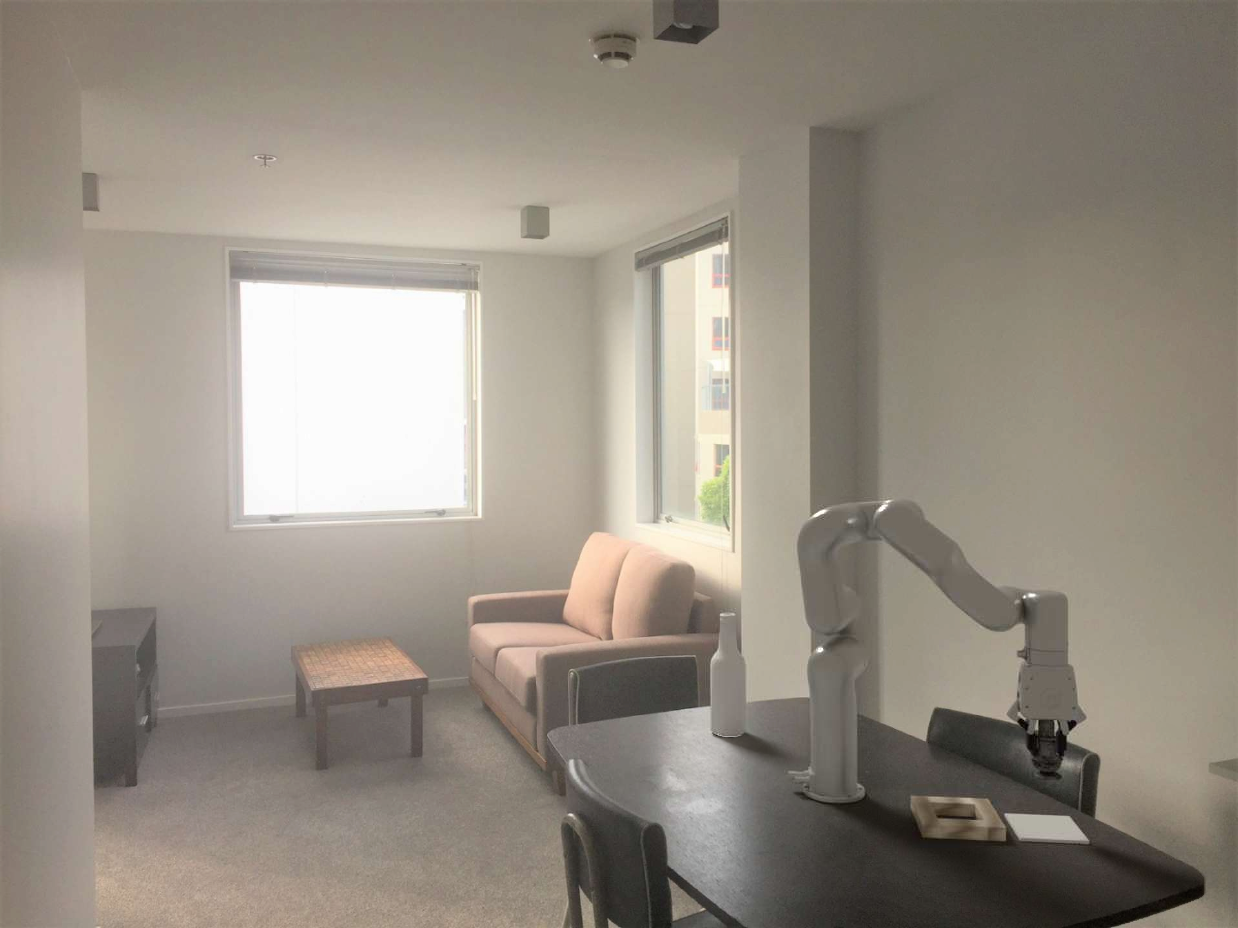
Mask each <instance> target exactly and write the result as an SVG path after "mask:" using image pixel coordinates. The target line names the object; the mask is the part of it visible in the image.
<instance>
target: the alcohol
mask: <svg viewBox="0 0 1238 928" xmlns="http://www.w3.org/2000/svg"><path fill="white" fill-rule="evenodd" d="M719 617H720V618H719V621H720V622H719V623H720V624H719V633H718V634H719V637H718V647H717V651H715V653H714V654H713V656H712V657H711V659H710V664H709V665H710V667H709V668H710V669H709V674H710V677H709V678H710V680H709V681H710V682H709V684H710V690H709V691H710V731H711V732H713V733H715V734H719V735H722V736H738V735H742V734H745V733H746V731H747V666H746V665H747V664H746V661H745V658H744V656H743V654H742V653H741V652H740V651H739V648H738V638H737V625H736V624H737V623H736V621H737V620H736V617H737V615H736V614H735V613H734V612H722V613H720V614H719ZM713 733H712V734H713ZM742 736H743V735H742Z"/></svg>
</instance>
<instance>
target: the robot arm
mask: <svg viewBox="0 0 1238 928" xmlns="http://www.w3.org/2000/svg"><path fill="white" fill-rule="evenodd" d="M880 541H881V542H882V541H883V542H885V543H886V544H887V545H888V546H890V547H891V548H892V549H893V550H895V551H896V552H898V553H899V554H900V555H901V556H902V557H904V559H906V560H907V561H908V562H910V563H911V564H912V565H913V566H915V567H916V568H917V569H919V570H920V571H922V573H924V574H925V575H926V576H927V577H928V578H929V579H930V580H931V581H932V583H933V584H934V585H935V586H936V587H937V588H938V589H939V590H940V591H941V592H942V593H943V594H944V596H946V598H948V600H949V601H951V603H952V604H954V606H956V607H957V608H959V610H960V611H962V612H963V613H964V614H966V615H967V616H968V617H970V618H971V619H972V620H973V621H974V622H976V623H977V624H979V625H980V626H981V627H983V628H985V629H986V630H989V631H990V632H995V633H1005V632H1007V631H1010V630H1011V629H1014V628H1015V627H1016V626H1017V625H1024V646H1023V648H1022V649H1021V650H1017V651H1016V658H1019V659H1020V658H1021V659H1023V661H1022V662H1021V663H1020V667H1019V672H1018V678H1017V679H1018V680H1017V685H1016V686H1017V688H1016V699H1015V701H1014V703H1012V705H1011V706H1010V708H1009V709H1008V711H1007V712H1006V716H1007V717H1008V718H1009V719H1011V720H1012V721H1013V722H1015V723H1017V724H1018V725H1019V726H1020V727H1021V728H1022V729H1023V730H1024V731H1025V747H1026V750H1027V751H1028V752H1029V753H1030V754H1032V755H1033V756H1036V755H1037V747H1038V738H1037V734H1036V731H1035V729H1036V726H1037V725H1036V724H1037V722H1038V720H1054V721H1056V725H1057V730H1055V736H1056V737H1057V739H1056V740H1055V750H1056V754H1057V755H1059V756H1061V757H1063V758H1064V757H1065V752H1066V751H1067V750H1068V747H1067V746H1068V740H1067V739H1068V735H1070V732H1071V731H1072V730H1074V728H1076V726H1077V725H1079V724H1081V723H1083V722H1084V721H1086V719H1087V714H1085V712H1084V711H1083V709H1082V708H1081V706H1080V705H1079V700H1078V690H1077V689H1078V688H1077V681H1076V680H1077V679H1076V676H1075V675H1076V673H1075V669H1074V666H1073V665H1071V664H1070V663H1069V600H1068V596H1067V595H1066V594H1065V593H1064V592H1061V591H1058V590H1057V591H1056V590H1049V589H1039V590H1037V589H1036V590H1031V589H1025V588H1020V587H1015V586H1010V585H1009V586H1008V585H1001V586H997V587H996V586H994V585H993V584H992V583H991V582H989V581H988V580H987V579H986V578H984V577H983V576H982V575H981V574H980V573H979V572H978V571H976V570H975V569H974V567H973V566H972V565H970V563H969V561H968V560H967V559H966V557H965V555H964V552H963V550H962V548H961V547H960V545H958V543H957V542H956V541H954V539H952V538H951V537H950V536H948V535H947V534H945V533H944V532H943V531H941V529H939V528H938V527H936V526H935V525H934V524H933V523H931V522H930V521H928V520H927V519H926V518H925V513H924V512H923V509H922V508H921V507H920V506H919V505H918V504H917V503H916V502H914V501H913V500H911V499H907V498H896V499H888V500H887V499H886V500H877V501H875V500H874V501H861V502H859V501H858V502H857V501H856V502H846V503H841V504H835V505H830V506H828V507H825V508H823V509H821V510H819V511H817V512H816V513H814V514H813V515H812V516H811V517H809V518H808V519H807V520H806V521H805V522H804V523H803V525H802V527H801V528H800V530H799V533H798V537H797V542H796V553H797V559H798V560H797V561H798V565H799V567H798V568H799V576H800V585H801V591H802V593H801V594H802V599H803V606H804V607H803V608H804V615H805V617H804V618H805V620H806V624H807V625H808V627H809V629H810V630H811V631H812V632H813V633H814V634H816V635H819V636H822V638H823V640H822V641H823V643H822V644H820V645H818V646H817V647H816V648H815V649H814V650H812V653H811V654H810V656H809V659H808V660H807V666H806V674H807V675H806V676H807V683H808V690H809V703H810V705H809V707H810V708H809V710H810V711H809V713H810V714H809V718H810V719H809V720H810V722H809V723H810V725H809V726H810V730H809V731H810V734H809V735H810V737H809V738H810V766H808V768H807V769H808V770H803V771H795V770H788V781H794V784H798V785H799V784H803V785H802V792H803V793H804V795H805V796H807V797H808V798H811V799H813V800H815V801H819V802H823V803H829V804H830V803H831V804H848V803H849V804H851V803H855V802H858V801H861V800H862V799H864V798H865V795H866V790H865V788H864V786H863V785H862V784H860V783H858V704H857V703H858V702H857V695H856V689H855V688H856V687H855V680H856V679H857V678H858V677H859V676H861V675H862V674H863V673H864V672H865V670H866V669H867V667H868V663H869V654H870V653H869V645H868V638H867V632H866V623H865V617H864V611H863V606H862V603H861V600H860V599H859V596H858V595H857V594H856V592H855V591H854V590H853V589H852V588H850V587H848V586H847V585H844V581H843V573H842V566H841V563H840V560H839V557H838V550H839V549H841V548H842V547H844V546H848V545H851V544H855V543H862V542H880ZM1019 713H1020V715H1022V716H1020V715H1019ZM1023 717H1024V718H1025V719H1024V718H1023Z"/></svg>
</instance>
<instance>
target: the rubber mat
mask: <svg viewBox="0 0 1238 928" xmlns="http://www.w3.org/2000/svg"><path fill="white" fill-rule="evenodd" d="M1004 818H1005V820H1006V822H1007V823H1008V824H1009V826H1010V828H1011V829H1012V830H1013V832H1014V833H1015V835H1016V837H1017V838H1018V840H1019V842H1029V843H1030V842H1031V843H1032V842H1034V843H1056V844H1074V843H1075V844H1076V845H1077V844H1079V843H1080V844H1081V845H1083V844H1084V845H1090V840H1089V839H1088V837H1087V836H1086V835H1085V834H1084V832H1082V830H1081V829H1080V827H1078V825H1077V824H1076V823H1075V822H1074V820H1073V818H1071V817H1070V816H1069V815H1051V814H1050V815H1049V814H1029V813H1028V814H1027V813H1004ZM1080 844H1079V845H1080Z"/></svg>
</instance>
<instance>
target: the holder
mask: <svg viewBox="0 0 1238 928" xmlns="http://www.w3.org/2000/svg"><path fill="white" fill-rule="evenodd" d="M910 810H911V813H912V815H913V817H914V820H915V822H916V824H917V827H918V829H919V832H920V835H921V836H922V838H928V839H947V840H948V839H949V840H950V839H951V840H952V839H953V840H970V841H971V840H973V841H974V840H975V841H992V842H993V841H996V842H1007V827H1006V825H1005V824H1004V822H1003V820H1002V819H1001V817H1000V815H999V814H998V812H997V811H996V809H995V808H994V806H993V805H992V803H991V802H990V800H989V799H988V798H975V797H974V798H973V797H953V796H927V795H910ZM937 816H948V817H949V816H953V817H972V818H975V819H962V818H958V819H957V818H938V817H937Z"/></svg>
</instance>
